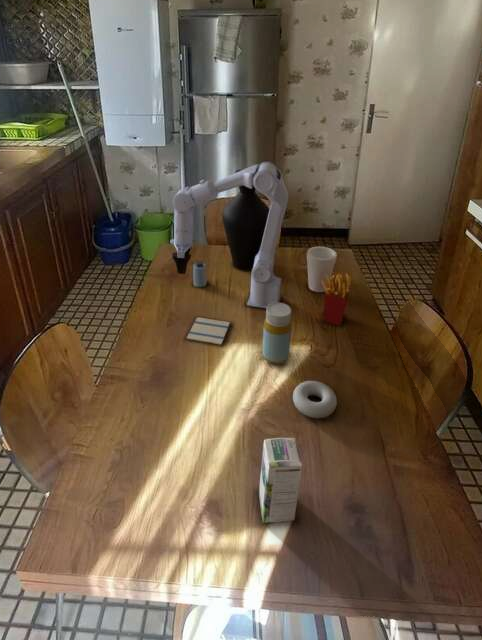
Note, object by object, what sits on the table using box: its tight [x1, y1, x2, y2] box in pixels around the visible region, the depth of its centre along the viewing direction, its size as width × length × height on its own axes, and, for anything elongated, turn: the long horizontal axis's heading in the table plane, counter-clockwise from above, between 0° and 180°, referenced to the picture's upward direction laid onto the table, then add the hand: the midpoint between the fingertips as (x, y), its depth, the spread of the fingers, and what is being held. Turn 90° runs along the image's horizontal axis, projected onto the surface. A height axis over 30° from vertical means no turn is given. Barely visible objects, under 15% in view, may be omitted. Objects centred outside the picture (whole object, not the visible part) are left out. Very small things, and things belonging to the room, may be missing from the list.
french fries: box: [321, 273, 352, 326], centre depth 128 cm, size 9×8×15 cm
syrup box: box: [258, 437, 303, 524], centre depth 76 cm, size 6×6×14 cm
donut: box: [292, 380, 338, 419], centre depth 100 cm, size 10×4×10 cm
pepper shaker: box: [192, 260, 208, 288], centre depth 146 cm, size 4×4×8 cm
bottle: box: [261, 302, 292, 365], centre depth 112 cm, size 7×7×15 cm
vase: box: [221, 168, 270, 271], centre depth 152 cm, size 17×17×35 cm
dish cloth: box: [186, 316, 231, 346], centre depth 124 cm, size 10×10×1 cm
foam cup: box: [306, 246, 338, 293], centre depth 144 cm, size 10×9×13 cm
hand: (182, 267), depth 138 cm, fingers open, 7 cm apart
